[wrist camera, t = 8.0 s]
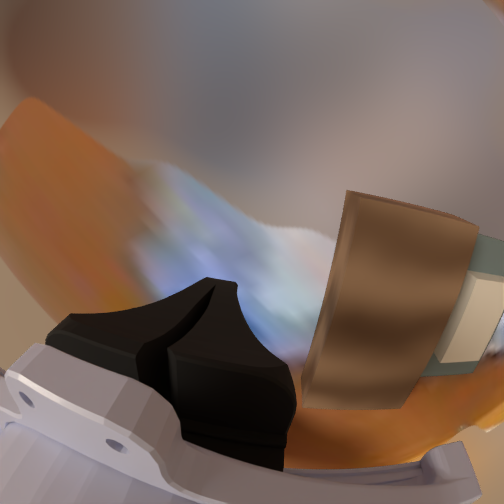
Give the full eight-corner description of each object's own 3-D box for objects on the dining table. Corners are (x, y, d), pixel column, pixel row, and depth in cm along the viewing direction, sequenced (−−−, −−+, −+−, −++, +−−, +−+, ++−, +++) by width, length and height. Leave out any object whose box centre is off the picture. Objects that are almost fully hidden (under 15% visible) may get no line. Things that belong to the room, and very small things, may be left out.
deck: (390, 381, 25) (400, 408, 21) (301, 378, 26) (302, 407, 22) (453, 214, 19) (479, 226, 15) (346, 189, 20) (361, 197, 16)
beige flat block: (440, 363, 21) (432, 351, 23) (478, 360, 21) (471, 350, 23) (477, 278, 18) (465, 270, 20) (513, 284, 18) (502, 276, 20)
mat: (471, 371, 24) (472, 372, 24) (394, 375, 25) (395, 377, 25) (524, 247, 19) (526, 248, 19) (450, 226, 20) (452, 227, 19)
